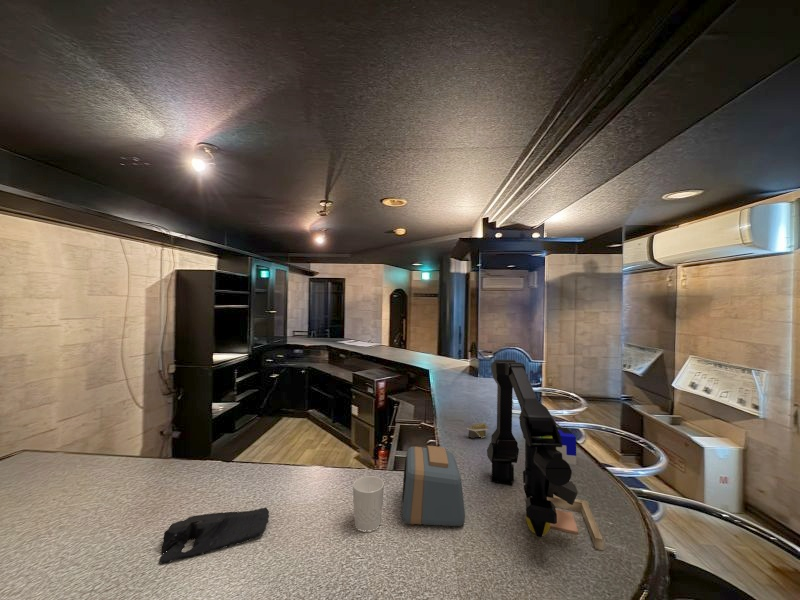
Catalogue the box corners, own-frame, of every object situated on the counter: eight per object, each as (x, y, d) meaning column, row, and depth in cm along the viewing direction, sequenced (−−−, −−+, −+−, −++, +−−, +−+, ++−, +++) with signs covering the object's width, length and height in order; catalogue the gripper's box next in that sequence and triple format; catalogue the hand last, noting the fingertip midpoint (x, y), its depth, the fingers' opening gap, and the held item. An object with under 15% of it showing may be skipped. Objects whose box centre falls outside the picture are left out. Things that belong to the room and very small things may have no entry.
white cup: (358, 538, 74) (359, 495, 74) (348, 519, 81) (349, 479, 81) (388, 528, 78) (388, 487, 78) (375, 510, 85) (376, 473, 85)
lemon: (526, 539, 74) (525, 505, 75) (525, 525, 79) (525, 493, 80) (551, 546, 72) (551, 511, 73) (549, 531, 77) (549, 498, 78)
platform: (503, 443, 133) (503, 427, 133) (464, 446, 129) (464, 430, 129) (490, 433, 144) (490, 418, 145) (453, 435, 141) (454, 420, 141)
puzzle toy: (576, 465, 113) (576, 437, 114) (547, 462, 115) (547, 434, 116) (567, 453, 123) (567, 427, 124) (540, 450, 125) (540, 425, 126)
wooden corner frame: (529, 533, 77) (529, 523, 77) (525, 498, 92) (525, 489, 92) (603, 550, 71) (602, 539, 71) (586, 510, 86) (586, 500, 87)
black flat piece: (264, 548, 71) (265, 527, 71) (150, 570, 64) (151, 546, 65) (271, 508, 85) (272, 491, 86) (178, 522, 79) (179, 503, 79)
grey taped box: (403, 491, 94) (403, 438, 95) (456, 493, 94) (457, 439, 95) (401, 528, 78) (402, 463, 79) (466, 530, 77) (467, 465, 78)
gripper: (582, 489, 65) (584, 566, 64) (567, 453, 83) (568, 513, 82) (526, 479, 69) (526, 552, 68) (522, 447, 87) (523, 504, 86)
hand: (538, 528), depth 76 cm, fingers closed on lemon, 5 cm apart
